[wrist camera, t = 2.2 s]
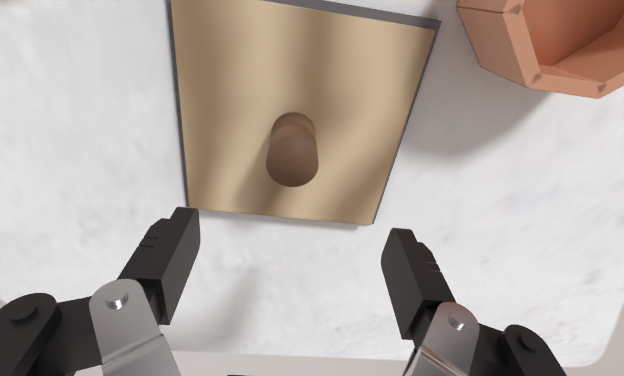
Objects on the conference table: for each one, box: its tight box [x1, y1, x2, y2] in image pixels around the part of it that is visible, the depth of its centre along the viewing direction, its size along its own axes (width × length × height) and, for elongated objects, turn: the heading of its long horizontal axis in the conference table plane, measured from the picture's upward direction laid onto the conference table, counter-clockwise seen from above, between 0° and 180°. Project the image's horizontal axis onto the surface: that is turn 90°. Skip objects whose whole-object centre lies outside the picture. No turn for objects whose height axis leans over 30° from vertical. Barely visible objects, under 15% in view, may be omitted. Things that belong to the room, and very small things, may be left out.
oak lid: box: [171, 0, 435, 225], centre depth 20 cm, size 15×15×5 cm
